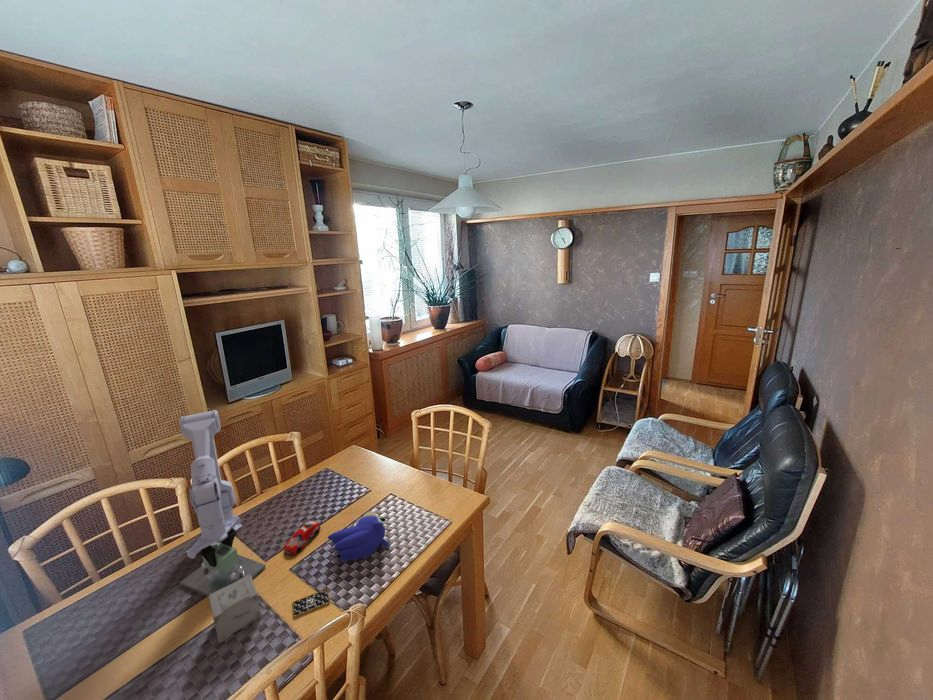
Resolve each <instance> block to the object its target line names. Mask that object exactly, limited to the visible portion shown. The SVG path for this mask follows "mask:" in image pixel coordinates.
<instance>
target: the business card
mask: <svg viewBox="0 0 933 700" xmlns="http://www.w3.org/2000/svg"><path fill="white" fill-rule="evenodd" d="M328 605H330V597H329V592H328V588H325V589H323V590H319V591H317V592H314V593H311V594H309V595H307V596H304V597H301V598H299V599H297V600H294V601H292V611H293V614H292V615H293V619H297V618H299V617H302V616H304V615H306V614H308V613H312V612H314V611H316V610H318V609H321V608H323V607H325V606H328Z"/></svg>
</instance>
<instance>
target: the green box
mask: <svg viewBox="0 0 933 700" xmlns="http://www.w3.org/2000/svg"><path fill="white" fill-rule="evenodd" d="M210 546H212V547H213V548H215V549H216V551H215V558H216V562H217V566H215V567H212V566H210V565H209V563H208V562H207V560H206V559H205V558H204V557H203V556H202V555H201V557H202V562H204V565H206V566H209V567H212V568H214V569H217V570H219V571H222V572H224V573H227V572H229V571H230V570H231V569H232V568H233V567H234V566H236V565H237V564H238V563H239V560H238V555H239V554H238V551H237V548H236V547H234V546H232V547H230V546H227V545H225V544H222V543H221V542H219V541H217V542H215V543H213V544H211V545H210Z"/></svg>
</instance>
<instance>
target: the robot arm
mask: <svg viewBox="0 0 933 700" xmlns="http://www.w3.org/2000/svg"><path fill="white" fill-rule="evenodd" d="M179 428H180V432H181V434H182V436H184V437H185V439H187V440H191V443H192V449H193V454H194V458H195V460H194V461H193V462H191V463H190V473H191V487H190V488H189V499H190V503H191V505H192V507H193V509H194V513H195V514H196V516H197V521H198V524H199V528H200V533H201V536H200V537H199V539H198V540H196V542H195V543H194V544H192V546H191V547H190V548H188V549H187V550H186V555H187V557H188V559H194V558H196V557H197V554H199V555H201V557H202V556H203V557H204V558H205V559H206V560H207V562H208V563H209V565H210V566H212V567H215V566H217V562H216V558H215V551H216V549H215V548H213V547H212V546H210V545H211V544H213V543H215V542H219V543H222V544H225V545H227V546H230V547H233V544H234V543H233V542H234V540H235V538H236V536H237V531H238V530H239V529H241V528H242V527H243V524H241V523H242V522H241V521H242V520H241V517H240V516H236V515H234V510H233V506H235V504H236V496H235V491H234V487H233V484H232V482H231V481H228V480H224V479H222V477H221V471H220V465H219V461H218V456H217V450H216V445H215V444H216V443H215V440H214V439H215V435H216V434H217V433H219V432H221V428H222V427H221V421H220V415H219V412H218V410H216V409H213V410H210V411H205V412H200V413H196V414H190V415H183V416H181V417H180V418H179ZM203 557H202V558H203Z"/></svg>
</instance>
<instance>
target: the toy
mask: <svg viewBox="0 0 933 700" xmlns="http://www.w3.org/2000/svg"><path fill="white" fill-rule="evenodd" d="M384 522H386V517H379V516H378V515H377V514H376V513H374V512H371V511H368V512H366V513H364V514H363V516H362V518H360V519H359V520H358V521H357V522H356V523H355V526H351V527H348V528H344V529H341V530H337V531H334V532H332V533H330V534H329V535H328V536H327V539H328V540H329V541H332V543H333V544H334V547H333V550H334V551H336V552H338V555H339V556H340V558H339V560H340V561H341V562H342V561H344V562H350V561H354V560H355V561H357V560H361V559H365V558H367V557H369V556H371V555H372V554H373V553H375V552H376V551H377V549H378V547H379V546H381V547H385V548H388V547H389V548H390V546H391V545H390V544H389V543H388V541H387V540H386V539H385V534H386V528H385V524H384Z"/></svg>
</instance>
